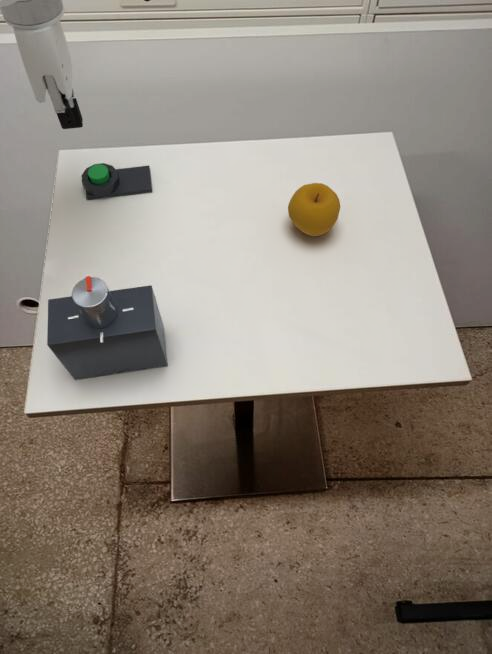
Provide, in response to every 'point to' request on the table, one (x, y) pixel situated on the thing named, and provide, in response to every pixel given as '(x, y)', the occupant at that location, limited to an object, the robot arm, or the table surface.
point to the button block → (119, 182)
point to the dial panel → (108, 336)
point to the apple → (314, 209)
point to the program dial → (94, 302)
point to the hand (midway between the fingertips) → (72, 124)
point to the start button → (98, 174)
